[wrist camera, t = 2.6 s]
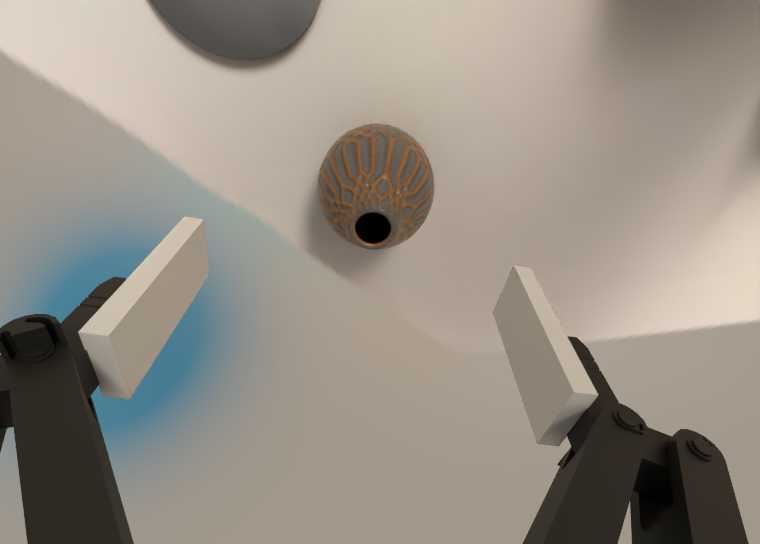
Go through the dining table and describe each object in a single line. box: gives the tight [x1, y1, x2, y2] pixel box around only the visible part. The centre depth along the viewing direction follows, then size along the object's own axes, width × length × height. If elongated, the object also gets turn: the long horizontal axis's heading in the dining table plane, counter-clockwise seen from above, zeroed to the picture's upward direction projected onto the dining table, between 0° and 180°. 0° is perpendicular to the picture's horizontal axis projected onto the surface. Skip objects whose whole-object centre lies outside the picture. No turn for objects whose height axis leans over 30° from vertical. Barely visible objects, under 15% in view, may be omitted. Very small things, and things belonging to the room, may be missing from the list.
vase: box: [318, 124, 434, 249], centre depth 23 cm, size 7×7×9 cm
